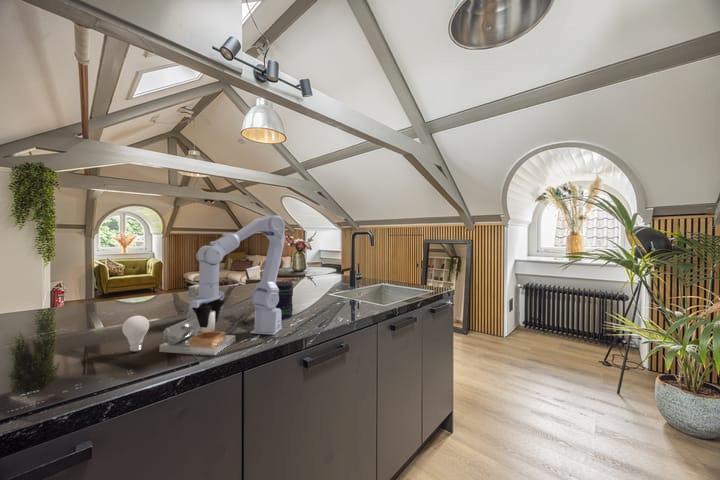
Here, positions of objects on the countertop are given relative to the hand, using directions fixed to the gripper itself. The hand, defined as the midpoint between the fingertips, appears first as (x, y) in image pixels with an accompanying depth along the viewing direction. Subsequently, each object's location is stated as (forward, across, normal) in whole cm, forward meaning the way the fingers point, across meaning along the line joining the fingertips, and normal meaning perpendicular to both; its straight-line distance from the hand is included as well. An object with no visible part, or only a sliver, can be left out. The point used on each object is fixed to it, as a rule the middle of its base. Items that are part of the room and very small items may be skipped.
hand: (208, 324), depth 94 cm
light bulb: (+8, +7, -19) cm, 22 cm away
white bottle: (+2, 0, 0) cm, 2 cm away
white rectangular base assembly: (+7, 0, -3) cm, 8 cm away
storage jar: (+7, -38, +10) cm, 40 cm away
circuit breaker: (+7, -28, -19) cm, 35 cm away
